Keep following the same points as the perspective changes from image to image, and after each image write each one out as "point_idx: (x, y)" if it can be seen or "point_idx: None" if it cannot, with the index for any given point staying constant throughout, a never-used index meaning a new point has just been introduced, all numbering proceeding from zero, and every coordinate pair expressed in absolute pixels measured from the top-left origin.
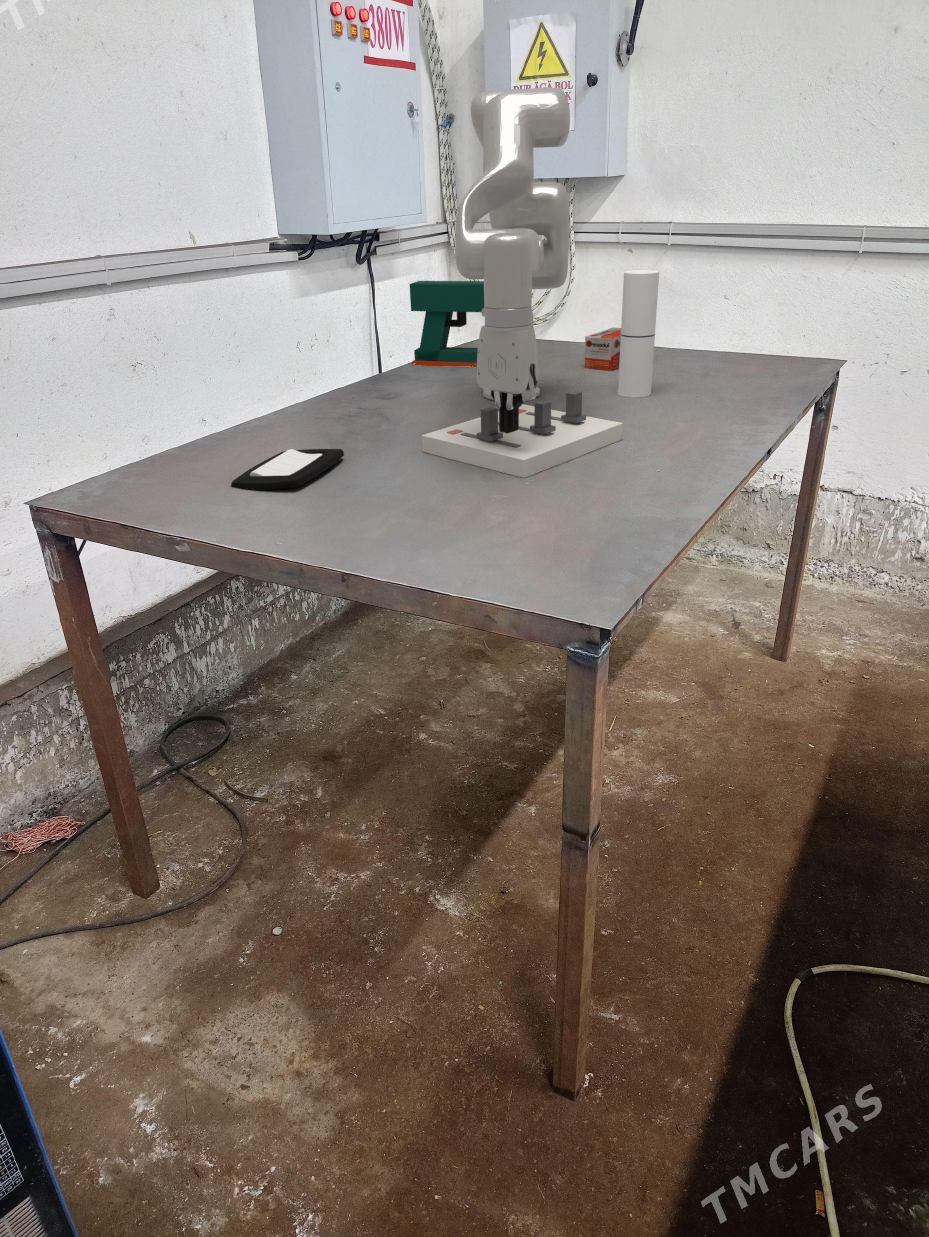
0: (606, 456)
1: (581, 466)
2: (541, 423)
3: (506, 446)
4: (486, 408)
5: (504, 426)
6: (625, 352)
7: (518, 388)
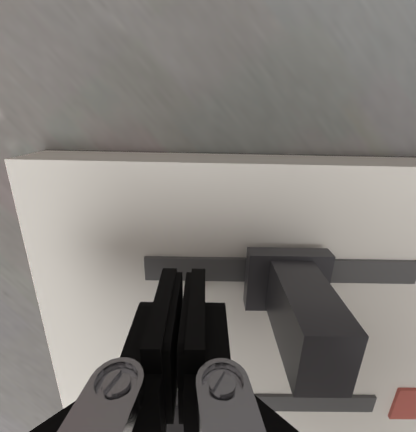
0: (39, 394)
1: (19, 316)
2: (172, 425)
3: (182, 249)
4: (350, 368)
5: (170, 283)
6: None
7: None
